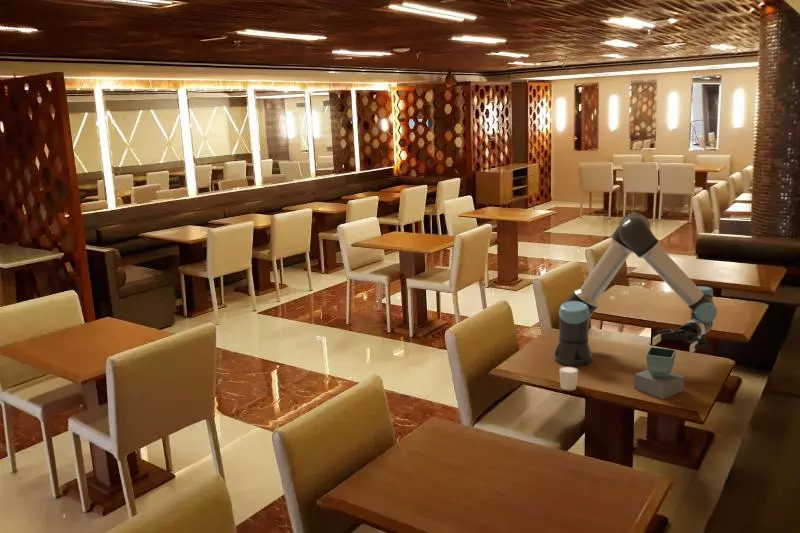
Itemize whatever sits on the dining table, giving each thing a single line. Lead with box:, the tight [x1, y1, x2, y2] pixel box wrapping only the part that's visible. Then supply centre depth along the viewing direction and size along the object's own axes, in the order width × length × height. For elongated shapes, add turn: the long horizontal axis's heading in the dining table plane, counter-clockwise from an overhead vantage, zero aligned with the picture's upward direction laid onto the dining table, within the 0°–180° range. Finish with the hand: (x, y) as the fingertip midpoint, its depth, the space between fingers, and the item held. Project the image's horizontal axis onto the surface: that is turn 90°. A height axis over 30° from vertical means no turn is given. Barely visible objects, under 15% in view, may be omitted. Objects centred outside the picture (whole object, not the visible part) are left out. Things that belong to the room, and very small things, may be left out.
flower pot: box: [645, 346, 677, 378], centre depth 240 cm, size 9×9×9 cm
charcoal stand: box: [633, 369, 685, 400], centre depth 243 cm, size 12×12×6 cm
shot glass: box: [558, 366, 579, 391], centre depth 247 cm, size 7×7×7 cm
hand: (671, 345), depth 247 cm, fingers open, 13 cm apart
